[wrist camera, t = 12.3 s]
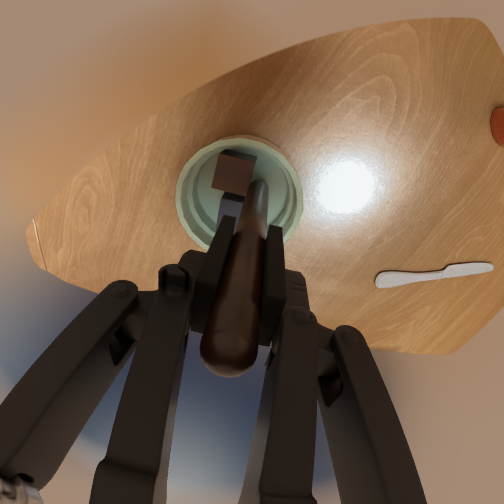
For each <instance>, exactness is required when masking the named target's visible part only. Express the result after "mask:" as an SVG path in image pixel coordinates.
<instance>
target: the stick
mask: <svg viewBox="0 0 504 504" xmlns="http://www.w3.org/2000/svg"><path fill="white" fill-rule="evenodd" d="M268 198H269V187H268V184H267V183H266V182H265V181H263V180H260V179H258V180H254V181H253V182H251V184H250V185H249V188H248V191H247V194H246V197H245V200H244V203H243V206H242V209H241V212H240V216H239V219H238V222H237V225H236V228H235V231H234V234H233V238H232V241H231V244H230V247H229V251H228V254H227V257H226V260H225V264H224V267H223V270H222V274H221V277H220V280H219V284H218V287H217V291H216V294H215V297H214V301H213V304H212V307H211V309H210V312H209V315H208V318H207V322H206V325H205V329H204V332H203V336H202V339H201V343H200V355H201V358H202V360H203V363H204V364H205V366H206V367H207V368H208V369H209V370H210V371H212V372H213V373H214V374H216V375H219V376H222V377H236V376H240V375H242V374H244V373H245V372H246V371H248V370H249V369H250V368H251V367H252V366H253V364H254V362H255V360H256V358H257V353H258V343H259V330H260V313H261V299H262V285H263V270H264V255H265V240H266V230H267V214H268Z"/></svg>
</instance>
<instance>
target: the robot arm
mask: <svg viewBox="0 0 504 504" xmlns="http://www.w3.org/2000/svg"><path fill="white" fill-rule="evenodd" d="M236 218H237V217H233V216H228V215H223V217H222V219H221V222H220V224H219V226H218V228H217V231H216V233H215V235H214V237H213V240H212V242H211V244H210V247H209V249H208V251H207V253H204V252H199V251H195V250H189V251H187V252H186V253H184V254H183V256H182V257H181V259H180V261H179V263H178V264H169V265H165V266H163V267H161V269H160V270H159V275H158V290H155V291H138V287H137V286H136V285H135V284H134V283H133V282H131V281H127V280H118V281H114V282H112V283H111V284H109V285H108V286H107V287H106V288H105V289H104V290H103V291H102V292H101V293H100V294H99V295H98V296H97V297H96V298H95V299H94V300H93V301H92V302H90V304H89V305H88V306H87V307H86V308H85V309H84V310H83V311H82V312H81V313H80V314H79V315H78V316H77V317H76V318H75V319H74V320H73V321H72V322H71V323H70V324H69V325H68V326H67V327H66V328H65V329H64V330H63V331H62V332H61V334H60V335H59V336H58V337H57V338H56V339H55V340H54V341H53V342H52V343H51V345H50V346H49V347H48V348H47V349H46V350H45V351H44V352H43V354H42V355H41V356H40V357H39V358H38V359H37V360H36V361H35V363H34V364H33V365H32V366H31V367H30V369H29V370H28V371H27V372H26V373H25V374H24V376H23V377H22V378H21V379H20V381H19V382H18V383H17V384H16V385H15V387H14V388H13V389H12V391H11V392H10V393H9V394H8V396H7V397H6V398H5V400H4V401H3V402H2V404H1V405H0V504H44V503H43V500H42V498H41V496H40V494H39V492H38V491H40V490H41V489H42V488H43V487H44V486H45V485H46V484H47V483H48V482H49V481H50V480H51V479H52V477H53V476H54V474H55V473H56V471H57V470H58V468H59V466H60V465H61V463H62V461H63V460H64V458H65V456H66V455H67V453H68V451H69V450H70V448H71V446H72V445H73V443H74V442H75V440H76V438H77V437H78V435H79V434H80V432H81V430H82V429H83V427H84V426H85V424H86V422H87V421H88V419H89V418H90V416H91V414H92V413H93V411H94V410H95V408H96V407H97V405H98V404H99V402H100V400H101V399H102V398H103V396H104V395H105V393H106V392H107V390H108V389H109V387H110V386H111V384H112V383H113V381H114V380H115V378H116V377H117V375H118V374H119V372H120V371H121V369H122V368H123V366H124V365H125V363H126V362H127V360H128V359H129V358H130V356H131V355H132V353H133V351H134V350H135V349H136V351H135V354H134V357H133V360H132V363H131V367H130V370H129V373H128V376H127V379H126V382H125V386H124V389H123V392H122V396H121V399H120V403H119V406H118V410H117V413H116V417H115V421H114V425H113V429H112V433H111V437H110V441H109V445H108V449H107V453H106V456H105V458H104V459H103V460H102V461H100V462H99V464H98V466H97V468H96V471H95V475H94V479H93V485H92V490H91V495H90V501H89V504H166V498H167V493H166V492H167V476H168V467H169V459H170V451H171V443H172V435H173V428H174V421H175V413H176V408H177V401H178V395H179V388H180V382H181V376H182V370H183V364H184V359H185V354H186V348H187V342H188V335H189V329H190V326H191V331H194V332H199V333H203V332H204V329H205V325H206V322H207V318H208V315H209V312H210V309H211V307H212V304H213V301H214V297H215V294H216V291H217V287H218V284H219V280H220V277H221V274H222V270H223V267H224V264H225V260H226V257H227V254H228V251H229V247H230V244H231V241H232V238H233V233H234V228H235V223H236ZM271 340H272V348H271V350H270V353H269V355H268V357H267V360H266V363H265V366H267V367H266V373H265V378H264V383H263V389H262V394H261V400H260V405H259V410H258V416H257V421H256V426H255V431H254V436H253V441H252V446H251V451H250V456H249V460H248V465H247V470H246V474H245V479H244V483H243V487H242V492H241V496H240V499H239V502H238V504H317V501H316V500H315V498H314V497H313V496H312V480H313V479H312V478H313V468H314V455H315V439H316V438H315V437H316V418H317V399H318V403H319V407H320V412H321V416H322V420H323V424H324V428H325V432H326V437H327V441H328V445H329V450H330V454H331V458H332V463H333V467H334V471H335V476H336V480H337V485H338V490H339V495H340V500H341V504H427V502H426V498H425V495H424V491H423V488H422V485H421V482H420V478H419V475H418V472H417V470H416V466H415V463H414V460H413V457H412V454H411V451H410V449H409V446H408V443H407V440H406V437H405V435H404V432H403V429H402V426H401V424H400V421H399V418H398V416H397V413H396V411H395V408H394V406H393V403H392V401H391V398H390V396H389V394H388V391H387V389H386V386H385V384H384V381H383V379H382V377H381V374H380V372H379V370H378V368H377V366H376V363H375V361H374V359H373V356H372V354H371V352H370V350H369V347H368V345H367V343H366V341H365V339H364V337H363V335H362V334H361V332H360V331H358V330H357V329H356V328H354V327H352V326H348V325H341V326H339V327H337V328H336V329H335V331H334V330H331V329H329V328H326V327H324V326H322V325H320V324H319V323H317V319H316V316H315V315H314V314H313V313H312V312H311V311H310V307H309V301H308V294H307V287H306V281H305V278H304V277H303V275H302V274H301V272H297V271H293V270H288V269H285V259H284V244H283V229H282V227H279V226H275V225H270V224H269V228H268V232H267V236H266V240H265V255H264V270H263V285H262V299H261V313H260V330H259V343H258V345H263V346H268V347H269V346H270V343H271Z"/></svg>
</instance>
